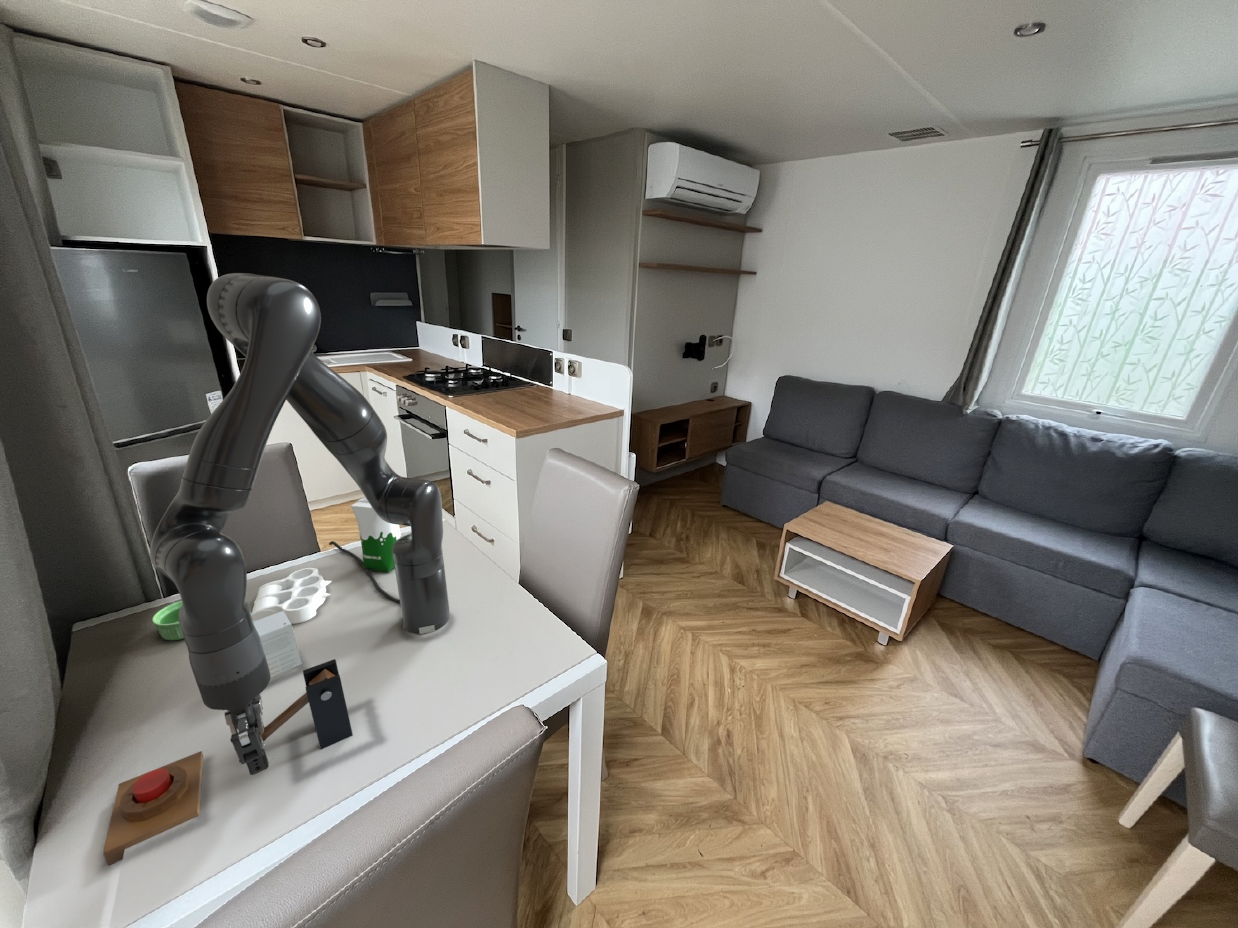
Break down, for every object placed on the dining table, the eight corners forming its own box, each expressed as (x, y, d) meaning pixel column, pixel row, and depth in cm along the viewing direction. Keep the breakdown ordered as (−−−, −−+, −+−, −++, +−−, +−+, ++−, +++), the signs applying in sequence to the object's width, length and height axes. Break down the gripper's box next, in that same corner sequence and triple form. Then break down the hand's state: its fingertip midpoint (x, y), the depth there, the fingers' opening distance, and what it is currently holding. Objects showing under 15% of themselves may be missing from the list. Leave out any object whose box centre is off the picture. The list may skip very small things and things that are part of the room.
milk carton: (410, 556, 131) (400, 487, 124) (389, 575, 122) (377, 501, 115) (379, 553, 132) (368, 484, 125) (357, 571, 124) (344, 498, 117)
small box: (296, 654, 96) (284, 609, 92) (304, 669, 92) (292, 623, 88) (246, 675, 90) (231, 628, 87) (252, 692, 87) (237, 644, 83)
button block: (124, 795, 69) (114, 774, 68) (205, 761, 74) (198, 741, 73) (108, 865, 61) (97, 844, 59) (202, 822, 66) (193, 801, 64)
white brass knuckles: (263, 588, 116) (334, 574, 122) (249, 635, 101) (330, 616, 107) (260, 576, 115) (331, 562, 121) (245, 621, 100) (328, 602, 106)
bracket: (298, 778, 72) (279, 710, 68) (293, 735, 79) (275, 671, 74) (379, 740, 78) (367, 676, 74) (368, 703, 85) (356, 643, 81)
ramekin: (158, 649, 96) (151, 630, 95) (158, 626, 103) (152, 608, 101) (216, 630, 102) (210, 612, 100) (213, 609, 108) (207, 592, 107)
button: (138, 786, 67) (134, 777, 66) (173, 772, 69) (169, 763, 68) (134, 808, 64) (129, 799, 63) (170, 793, 66) (166, 783, 65)
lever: (257, 761, 70) (243, 755, 68) (256, 737, 74) (243, 730, 72) (339, 690, 74) (328, 682, 73) (334, 670, 78) (323, 662, 76)
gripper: (266, 683, 63) (293, 779, 69) (261, 624, 74) (285, 710, 80) (190, 710, 59) (226, 810, 65) (197, 643, 70) (227, 733, 75)
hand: (259, 754), depth 72 cm, fingers closed on lever, 5 cm apart
